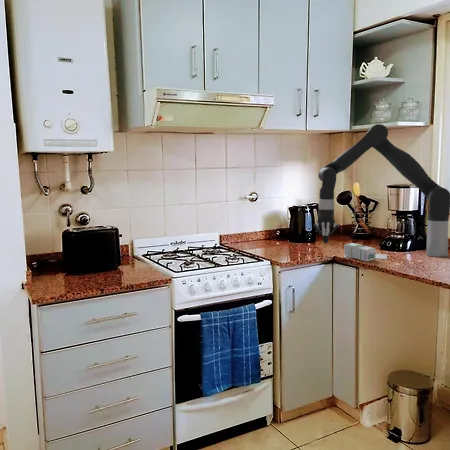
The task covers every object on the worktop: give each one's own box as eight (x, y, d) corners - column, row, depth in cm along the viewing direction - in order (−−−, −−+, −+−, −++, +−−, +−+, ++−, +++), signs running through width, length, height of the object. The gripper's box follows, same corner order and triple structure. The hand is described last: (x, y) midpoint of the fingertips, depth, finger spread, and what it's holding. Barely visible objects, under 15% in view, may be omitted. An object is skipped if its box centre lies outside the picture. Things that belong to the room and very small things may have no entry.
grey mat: (386, 255, 232) (386, 254, 232) (387, 259, 221) (387, 258, 221) (345, 253, 238) (345, 252, 238) (343, 257, 227) (343, 256, 227)
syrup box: (343, 255, 229) (366, 262, 217) (344, 243, 228) (367, 250, 215) (352, 253, 232) (375, 260, 220) (352, 241, 231) (375, 248, 218)
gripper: (340, 208, 234) (339, 242, 236) (314, 207, 238) (313, 241, 241) (339, 209, 227) (338, 244, 229) (311, 208, 231) (311, 243, 233)
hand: (325, 242), depth 235 cm, fingers closed
